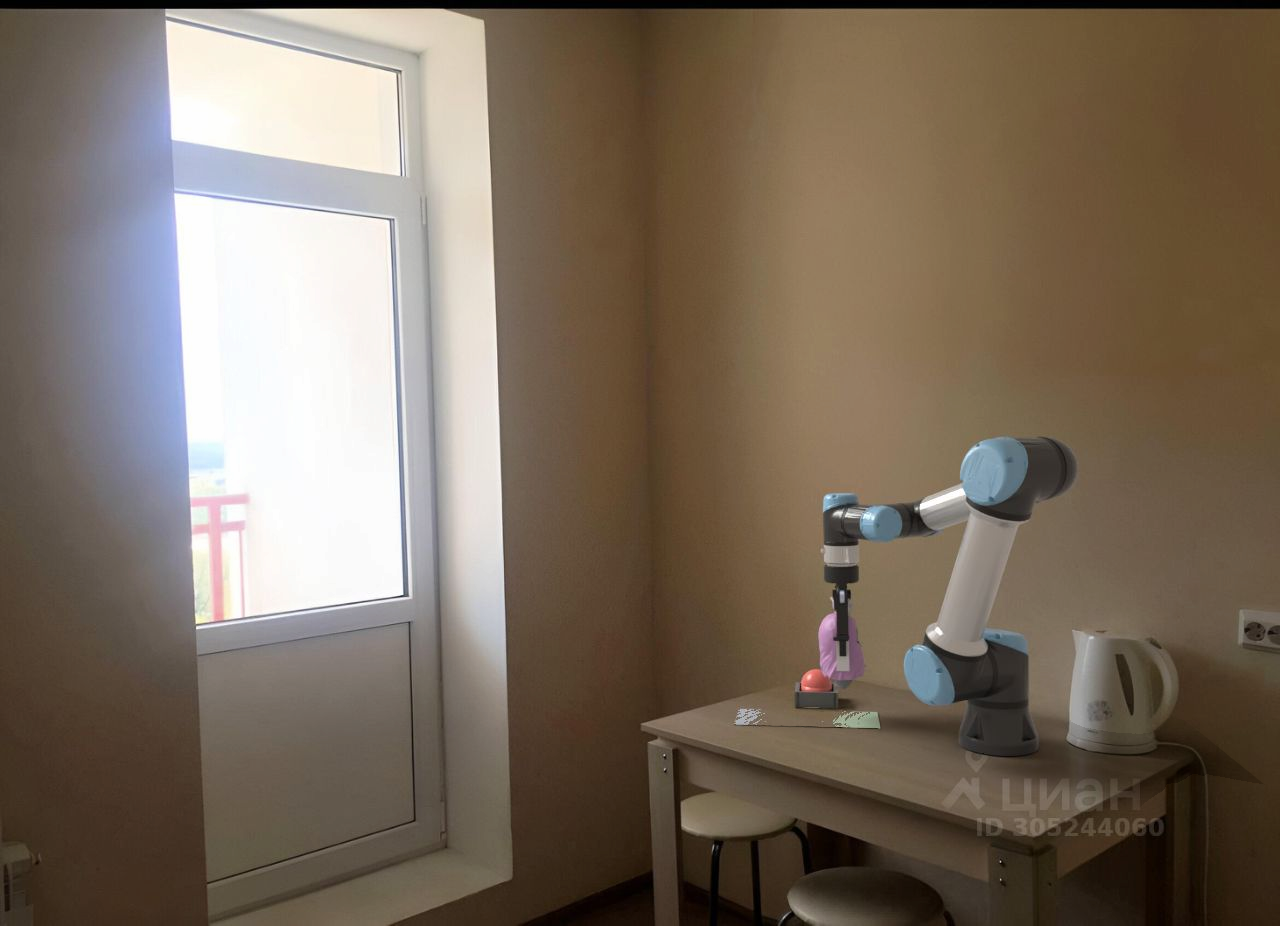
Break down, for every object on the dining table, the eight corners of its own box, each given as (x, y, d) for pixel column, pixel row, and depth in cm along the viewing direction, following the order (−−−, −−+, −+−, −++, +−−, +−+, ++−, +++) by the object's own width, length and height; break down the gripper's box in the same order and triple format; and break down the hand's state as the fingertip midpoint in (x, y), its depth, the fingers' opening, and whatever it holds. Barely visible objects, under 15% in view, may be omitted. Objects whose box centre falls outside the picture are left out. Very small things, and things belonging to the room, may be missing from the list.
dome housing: (838, 709, 241) (838, 692, 241) (794, 708, 242) (794, 692, 242) (837, 698, 250) (837, 682, 250) (796, 697, 252) (795, 682, 252)
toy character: (872, 692, 225) (870, 598, 225) (823, 692, 225) (822, 599, 225) (861, 678, 237) (860, 590, 237) (815, 679, 238) (813, 591, 237)
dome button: (832, 703, 242) (831, 673, 242) (801, 702, 244) (800, 672, 243) (831, 696, 249) (831, 666, 249) (801, 695, 250) (801, 666, 250)
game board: (880, 729, 224) (880, 728, 224) (734, 725, 229) (734, 724, 229) (877, 712, 237) (877, 712, 237) (739, 709, 242) (739, 708, 242)
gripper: (823, 557, 242) (825, 653, 243) (823, 571, 220) (825, 676, 221) (857, 557, 241) (858, 654, 242) (860, 571, 219) (861, 677, 220)
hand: (842, 665), depth 231 cm, fingers closed on toy character, 10 cm apart
